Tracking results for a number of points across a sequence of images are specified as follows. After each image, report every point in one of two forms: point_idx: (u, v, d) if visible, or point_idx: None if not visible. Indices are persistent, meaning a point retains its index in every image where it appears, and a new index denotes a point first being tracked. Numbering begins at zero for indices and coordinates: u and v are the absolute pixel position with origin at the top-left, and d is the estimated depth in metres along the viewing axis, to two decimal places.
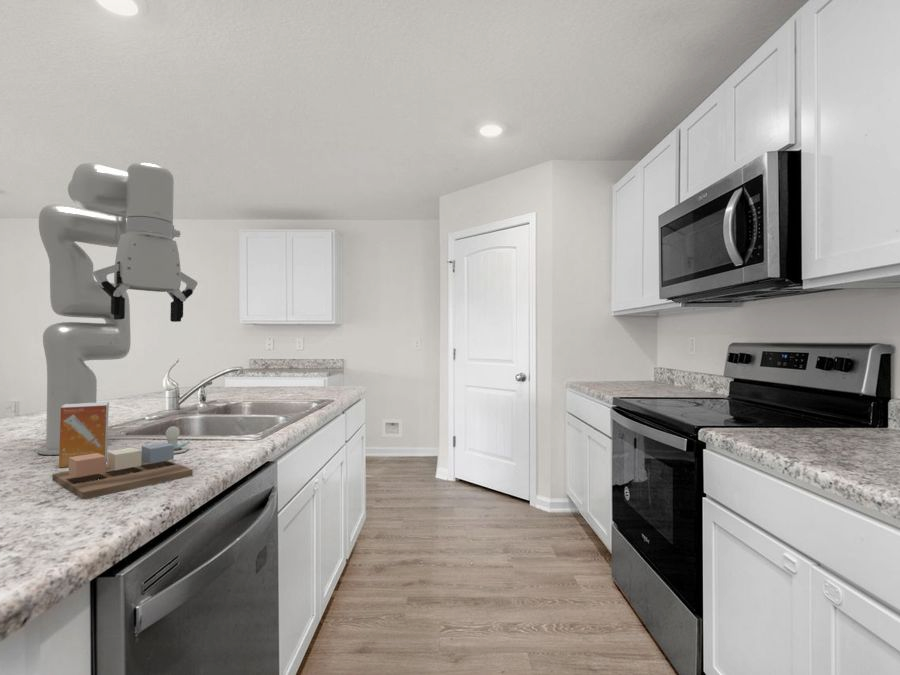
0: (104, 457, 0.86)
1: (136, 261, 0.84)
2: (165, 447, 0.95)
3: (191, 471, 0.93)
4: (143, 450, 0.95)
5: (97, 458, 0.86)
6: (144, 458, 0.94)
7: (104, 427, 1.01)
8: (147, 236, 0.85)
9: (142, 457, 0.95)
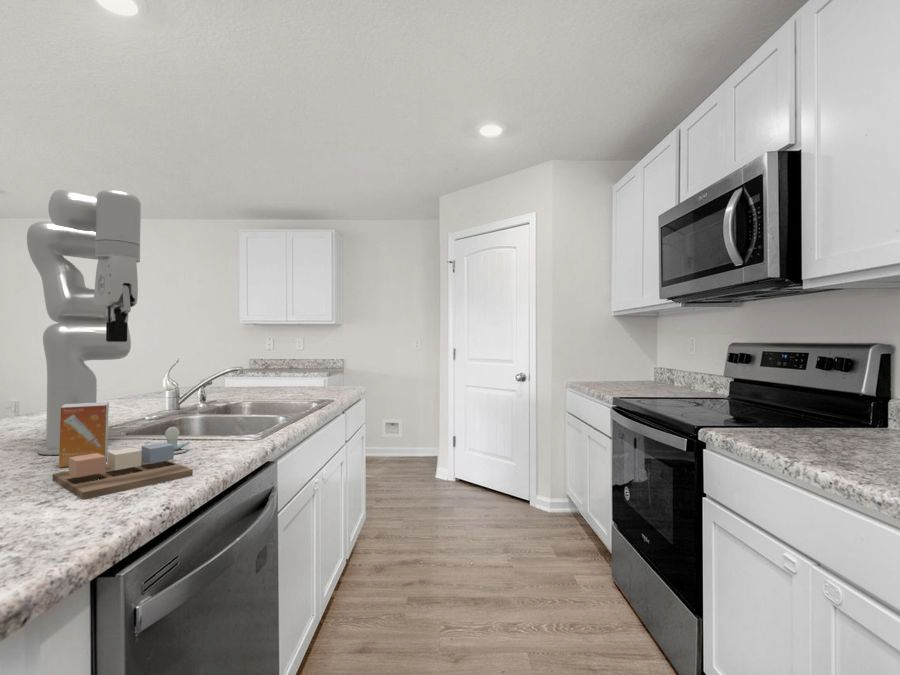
0: (104, 457, 0.86)
1: None
2: (165, 447, 0.95)
3: (191, 471, 0.93)
4: (143, 450, 0.95)
5: (97, 458, 0.86)
6: (144, 458, 0.94)
7: (104, 427, 1.01)
8: None
9: (142, 457, 0.95)
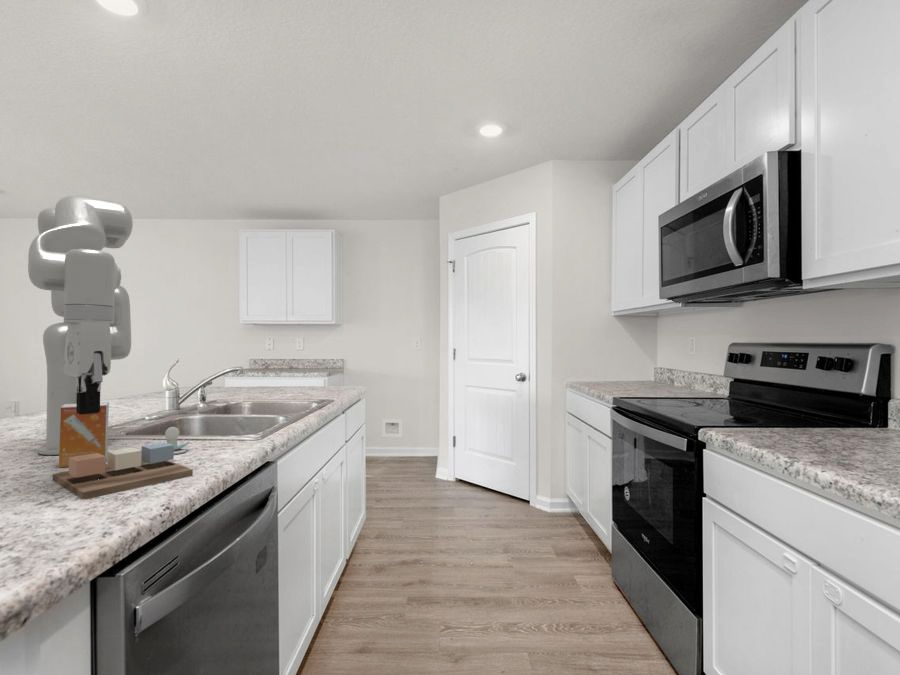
0: (104, 457, 0.86)
1: None
2: (165, 447, 0.95)
3: (191, 471, 0.93)
4: (143, 450, 0.95)
5: (97, 458, 0.86)
6: (144, 458, 0.94)
7: (104, 427, 1.01)
8: None
9: (142, 457, 0.95)
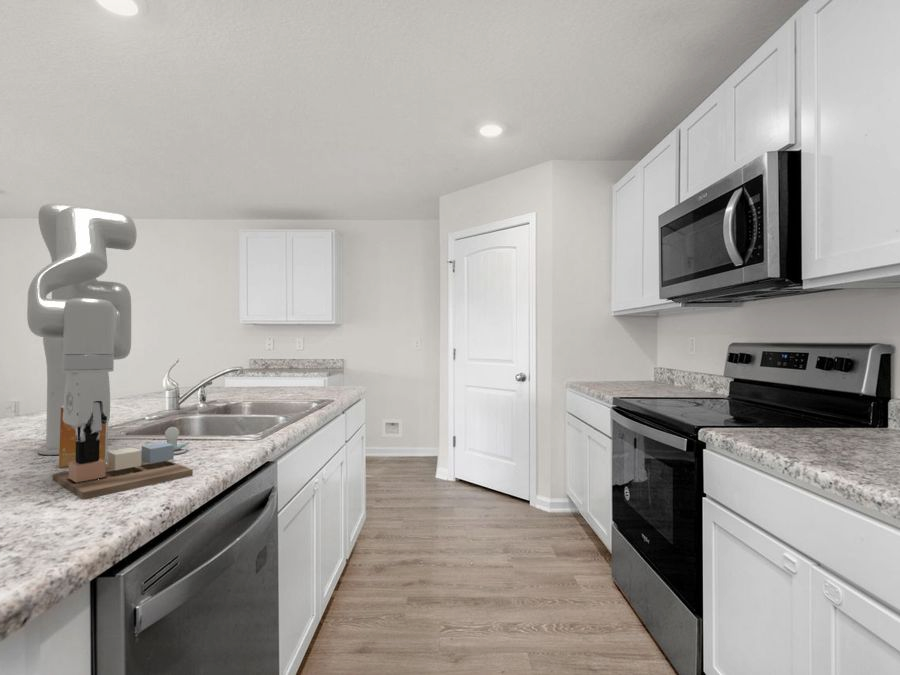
0: (104, 462, 0.86)
1: None
2: (165, 447, 0.95)
3: (191, 471, 0.93)
4: (143, 450, 0.95)
5: (97, 463, 0.86)
6: (144, 458, 0.94)
7: (104, 427, 1.01)
8: None
9: (142, 457, 0.95)
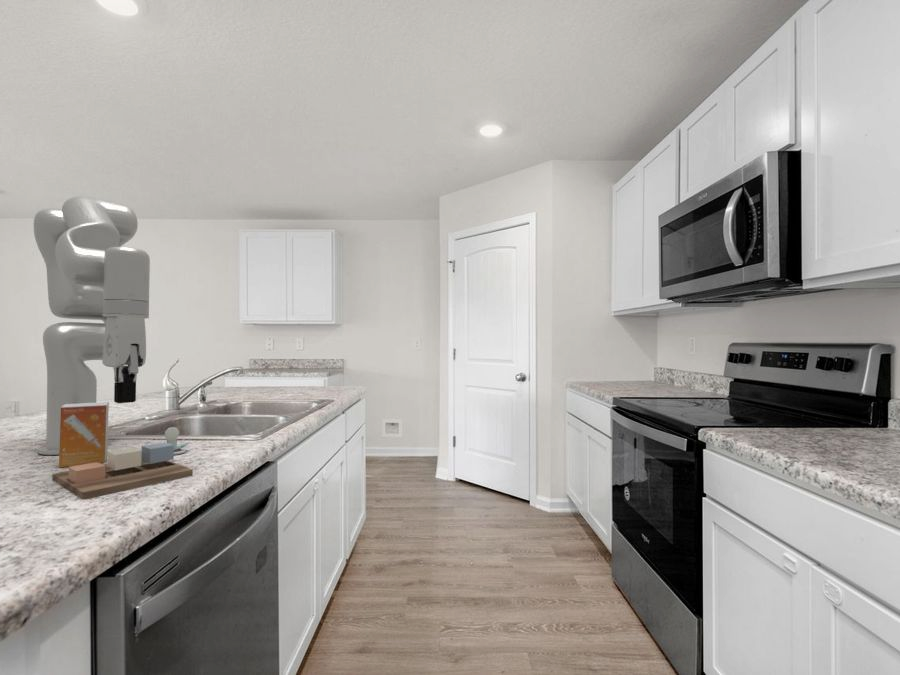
0: (104, 466, 0.86)
1: None
2: (165, 447, 0.95)
3: (191, 471, 0.93)
4: (143, 450, 0.95)
5: (97, 468, 0.86)
6: (144, 458, 0.94)
7: (104, 427, 1.01)
8: None
9: (142, 457, 0.95)
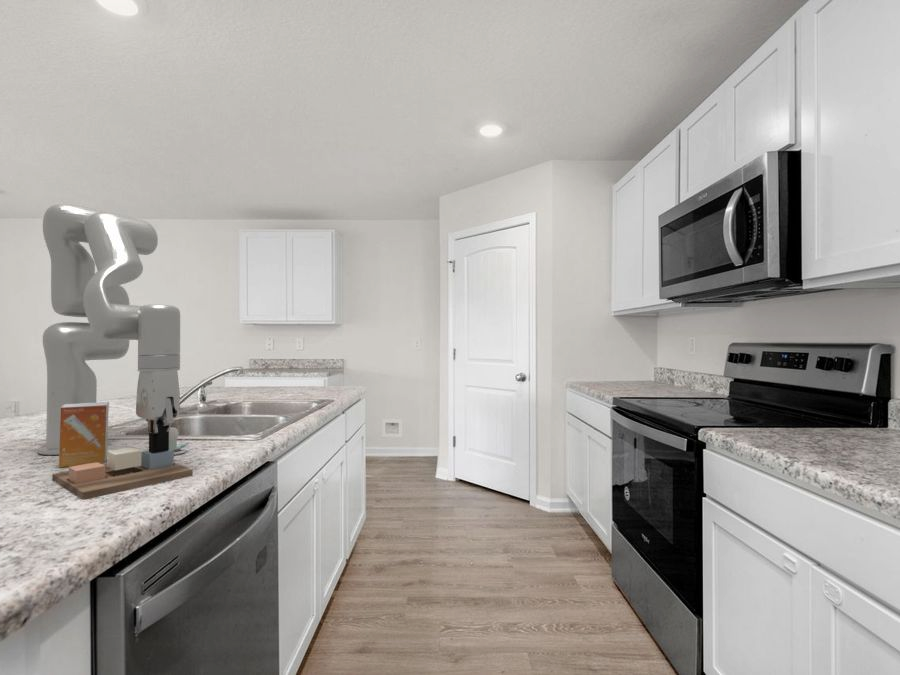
0: (104, 466, 0.86)
1: None
2: (165, 453, 0.95)
3: (191, 471, 0.93)
4: (143, 456, 0.95)
5: (97, 468, 0.86)
6: (144, 464, 0.94)
7: (104, 427, 1.01)
8: None
9: (142, 463, 0.95)
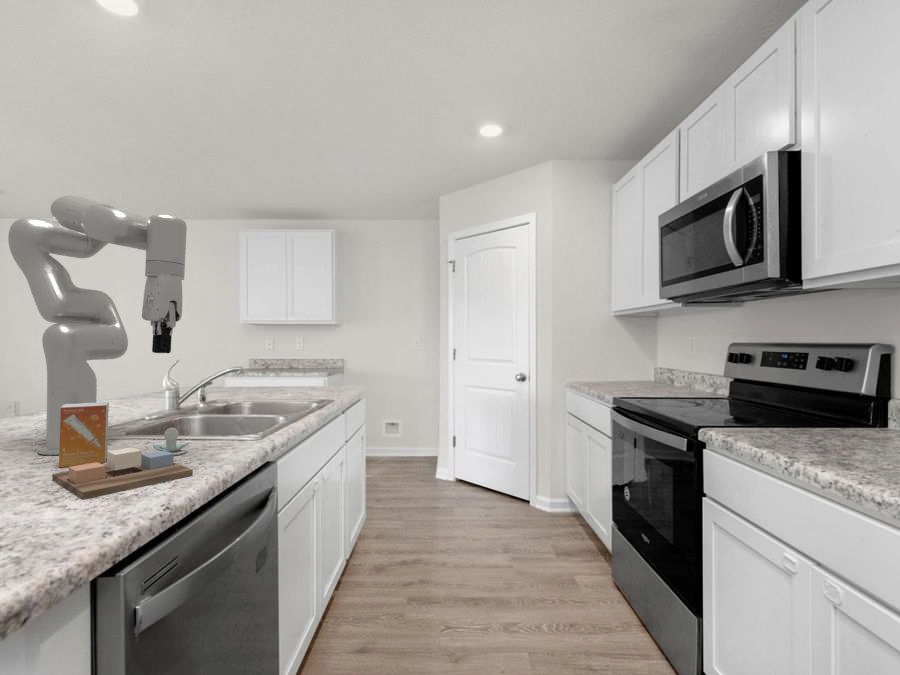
0: (104, 466, 0.86)
1: None
2: (165, 456, 0.95)
3: (191, 471, 0.93)
4: (143, 459, 0.95)
5: (97, 468, 0.86)
6: (144, 467, 0.94)
7: (104, 427, 1.01)
8: None
9: (142, 466, 0.95)
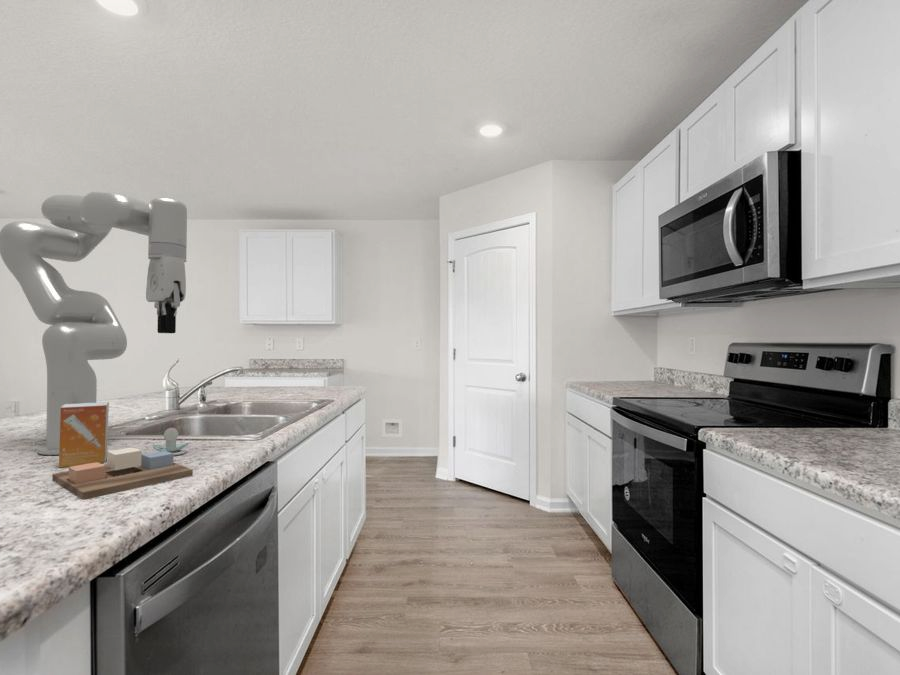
0: (104, 466, 0.86)
1: None
2: (165, 456, 0.95)
3: (191, 471, 0.93)
4: (143, 459, 0.95)
5: (97, 468, 0.86)
6: (144, 467, 0.94)
7: (104, 427, 1.01)
8: None
9: (142, 466, 0.95)
